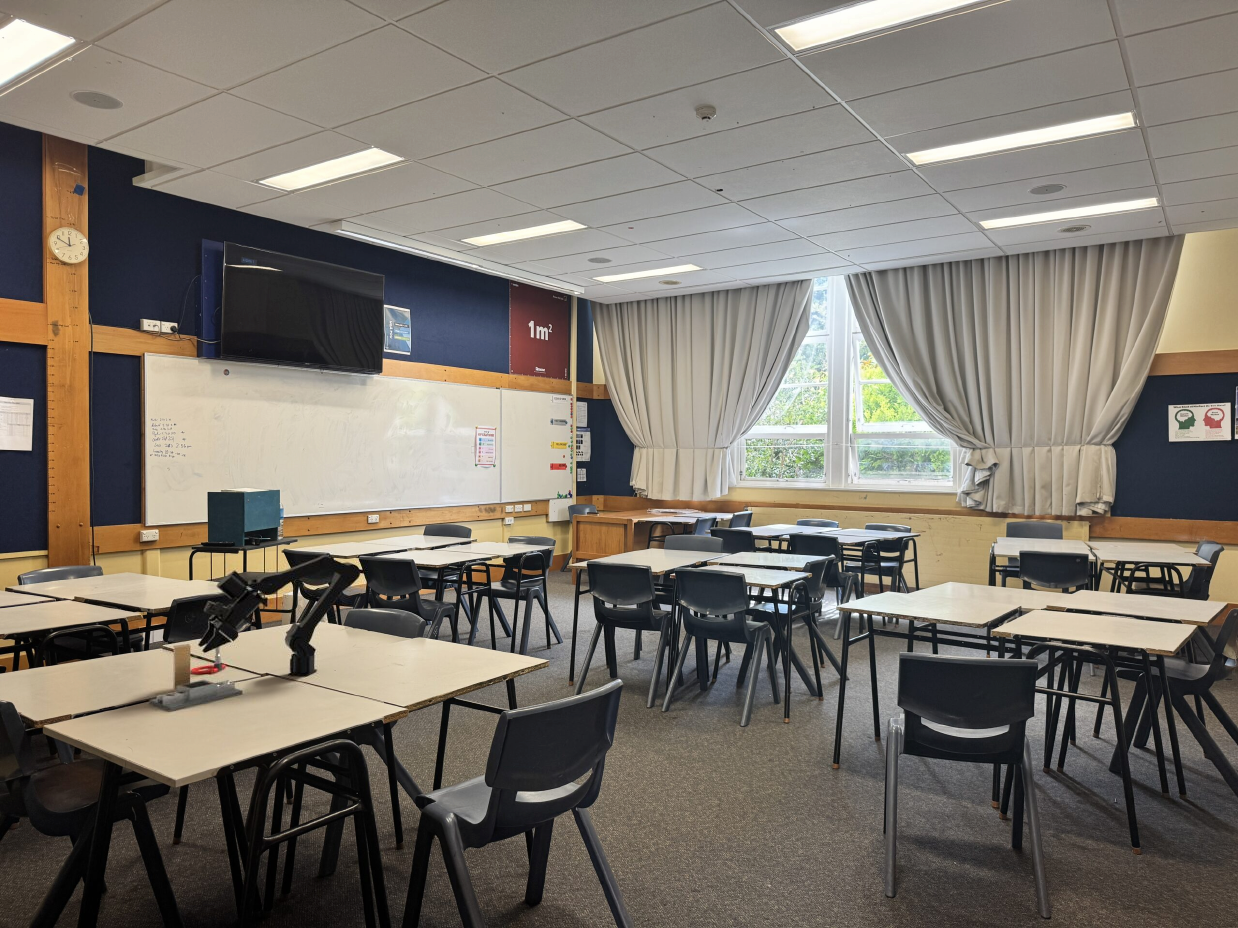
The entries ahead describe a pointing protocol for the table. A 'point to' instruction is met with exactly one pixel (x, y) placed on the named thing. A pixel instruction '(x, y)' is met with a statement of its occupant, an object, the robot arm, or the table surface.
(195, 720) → the table surface
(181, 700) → the grey fixture tray
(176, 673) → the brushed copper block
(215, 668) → the tow hook
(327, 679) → the table surface
